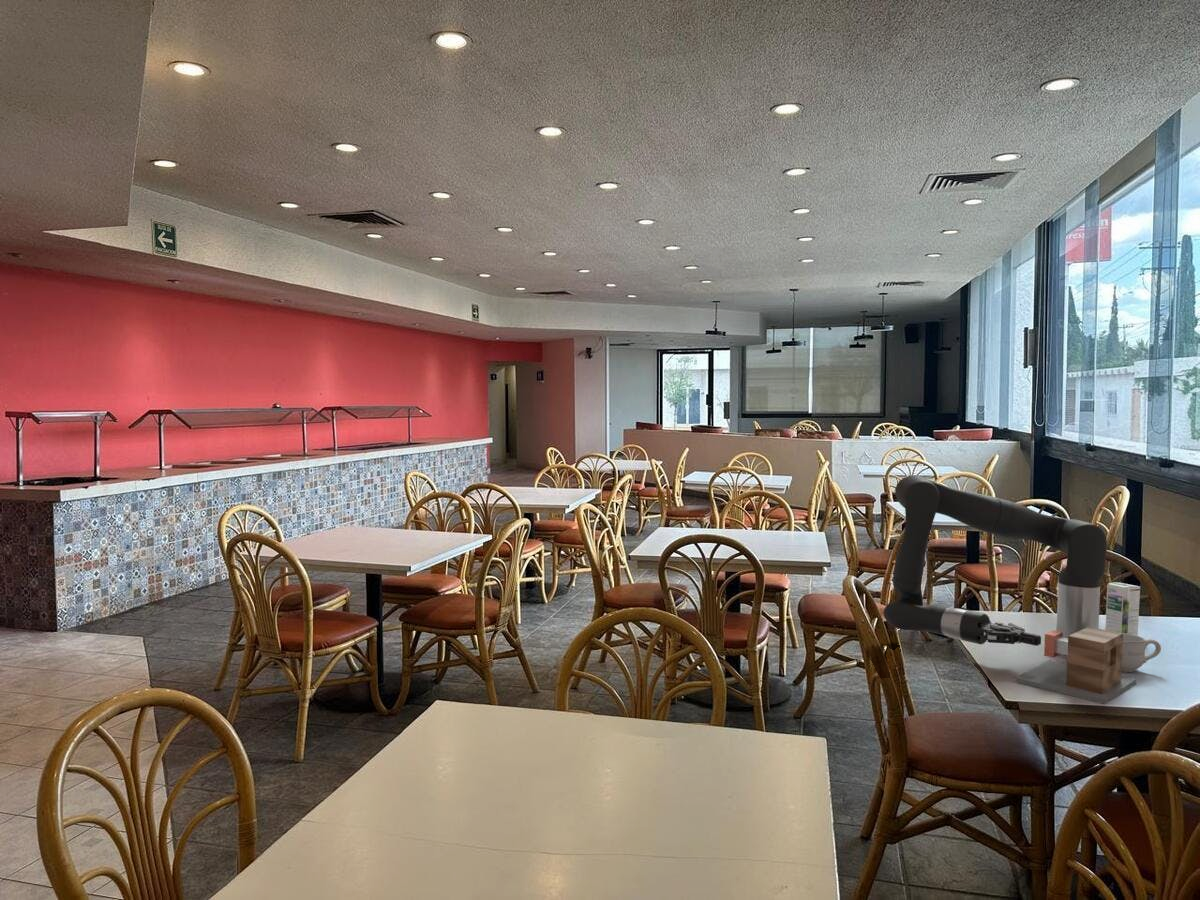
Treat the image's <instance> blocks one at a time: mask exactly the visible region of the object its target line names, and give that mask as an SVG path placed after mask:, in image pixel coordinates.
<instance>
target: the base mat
mask: <svg viewBox="0 0 1200 900" xmlns="http://www.w3.org/2000/svg"><path fill="white" fill-rule="evenodd" d="M1066 679H1067V663H1065V662H1059V661H1056V660H1051V659H1049V660H1047V661H1045V662H1042V663H1041V664H1040V665H1038V666H1036V667H1033V668H1031V669H1029V670H1027V671H1025V672H1023V673H1021V674H1019V675H1017V676H1015V677H1014V681H1015V682H1016V683H1020V684H1023V685H1026V686H1027V685H1028V686H1031V687H1035V688H1040V689H1043V690H1047V691H1050V690H1052V691H1051V692H1054V691H1056V692H1055V693H1058V692H1061V693H1060V694H1062V693H1065V694H1064V695H1066V694H1069V695H1068V696H1070V695H1073V696H1072V697H1074V696H1077V697H1076V698H1078V697H1081V698H1080V699H1082V698H1085V699H1084V700H1086V699H1089V700H1088V701H1090V700H1093V701H1092V702H1094V701H1096V702H1095V703H1098V702H1100V703H1099V704H1102V703H1103V704H1104V705H1105V704H1107V703H1110V701H1112V700H1113V699H1115V698H1116V697H1118V696H1120V695H1121V694H1122V693H1124V692H1125V691H1127V690H1128V689H1131V688H1132V687H1133V686H1135V685H1136V684H1137V679H1135V678H1132V677H1128V676H1123V675H1121V683H1119V684H1118V685H1116V686H1114V687H1113V688H1111V689H1110V690H1108V691H1106V692H1105V693H1103V694H1099V693H1095V692H1091V691H1087V690H1082V689H1078V688H1074V687H1070V686H1066ZM1015 682H1014V683H1015Z"/></svg>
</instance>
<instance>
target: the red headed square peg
mask: <svg viewBox="0 0 1200 900" xmlns="http://www.w3.org/2000/svg"><path fill="white" fill-rule="evenodd" d="M1043 652H1044V653H1043V657H1047V658H1052V659H1055V658H1057V657H1059V656H1060V655H1065V656H1067V655H1068V639H1067V638H1063V632H1060V631H1056V629H1055V630H1054V629H1053V630H1051V631H1049V632H1047V633H1044V650H1043Z"/></svg>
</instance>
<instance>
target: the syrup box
mask: <svg viewBox="0 0 1200 900" xmlns="http://www.w3.org/2000/svg"><path fill="white" fill-rule="evenodd" d="M1106 585H1107V587H1106V607H1105V625H1104V626H1105V627H1104V628H1105V629H1104V630H1108V631H1113V632H1118V633H1126V634H1131V635H1136V636H1139V633H1138V631H1139V617H1140V616H1139V615H1140V601H1141V600H1140V597H1141V595H1140V594H1141V586H1140V585H1139V586H1138V585H1133V584H1128V583H1124V582H1117V581H1116V582H1110V583H1107V584H1106Z"/></svg>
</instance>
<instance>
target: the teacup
mask: <svg viewBox="0 0 1200 900" xmlns="http://www.w3.org/2000/svg"><path fill="white" fill-rule="evenodd" d="M1151 644H1152V645H1154V646H1155V650H1154V651H1152V653H1151V652H1150V654H1147V655H1146V649H1147V647H1148V645H1151ZM1161 650H1162V647H1161V644H1160V643H1159V642H1158V641H1157V640H1156V639H1151V638H1148V639H1146V638H1145V637H1142V636H1140V635H1138V636H1136V635H1131V634H1126V633H1123V649H1122V672H1125V673H1131V672H1132V673H1133V672H1135V671H1137V670H1138V669H1140V668H1141V667H1142V666H1143V665H1144V664H1146V663H1147V662H1148V661H1149V660H1152V659H1153V658H1156V657H1157V656H1159V654H1161ZM1122 672H1121V673H1122Z"/></svg>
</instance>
